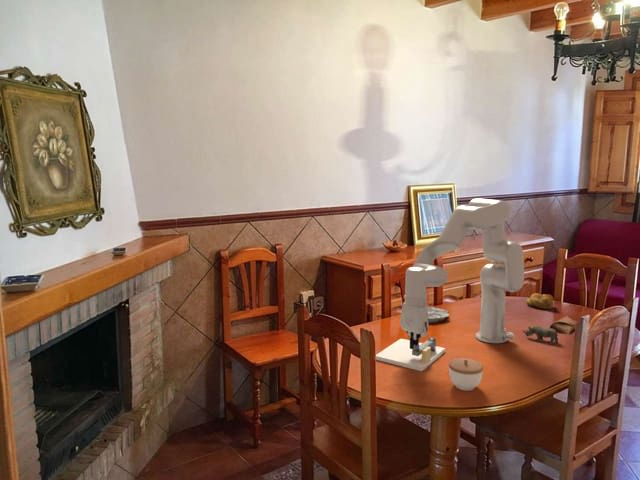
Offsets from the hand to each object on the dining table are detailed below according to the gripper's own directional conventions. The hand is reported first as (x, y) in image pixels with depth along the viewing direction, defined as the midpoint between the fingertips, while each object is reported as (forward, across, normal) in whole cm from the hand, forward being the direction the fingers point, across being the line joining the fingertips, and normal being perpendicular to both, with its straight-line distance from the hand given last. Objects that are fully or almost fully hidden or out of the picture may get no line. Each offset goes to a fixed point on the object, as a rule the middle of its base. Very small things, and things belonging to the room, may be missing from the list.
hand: (414, 348), depth 187 cm
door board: (+5, -4, +2) cm, 6 cm away
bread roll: (+5, -4, +102) cm, 102 cm away
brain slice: (+5, -28, +46) cm, 54 cm away
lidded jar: (+5, +25, -4) cm, 26 cm away
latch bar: (+3, +2, +4) cm, 5 cm away
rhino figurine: (+5, +20, +56) cm, 60 cm away
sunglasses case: (+5, +20, +80) cm, 82 cm away
